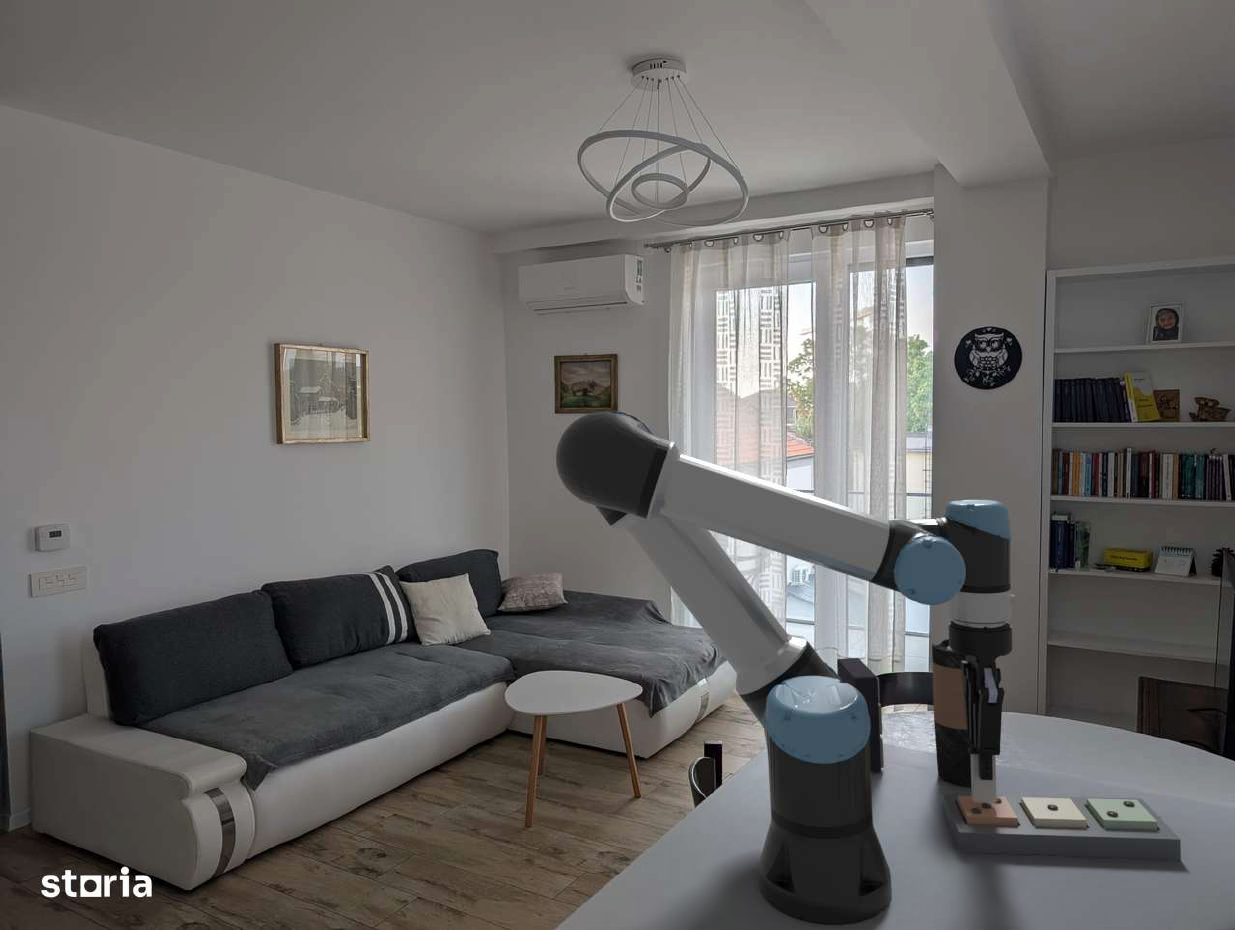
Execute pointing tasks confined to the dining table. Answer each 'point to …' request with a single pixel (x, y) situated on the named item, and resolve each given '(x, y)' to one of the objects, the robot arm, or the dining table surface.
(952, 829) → the keypad board
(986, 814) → the button three
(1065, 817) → the button one
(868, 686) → the calculator
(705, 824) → the dining table surface
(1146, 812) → the button two
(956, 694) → the travel mug
